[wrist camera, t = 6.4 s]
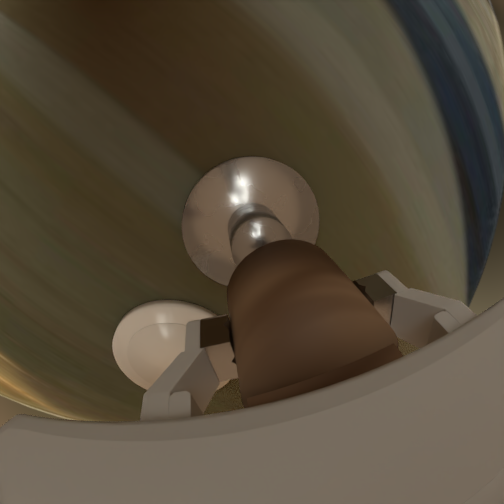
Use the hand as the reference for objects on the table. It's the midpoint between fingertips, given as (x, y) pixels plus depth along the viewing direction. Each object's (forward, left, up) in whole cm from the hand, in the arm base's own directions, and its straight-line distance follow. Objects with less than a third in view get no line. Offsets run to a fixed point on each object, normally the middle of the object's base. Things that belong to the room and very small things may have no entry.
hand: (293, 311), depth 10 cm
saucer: (+14, +2, -11) cm, 18 cm away
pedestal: (0, 0, -11) cm, 11 cm away
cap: (0, 0, -2) cm, 2 cm away
